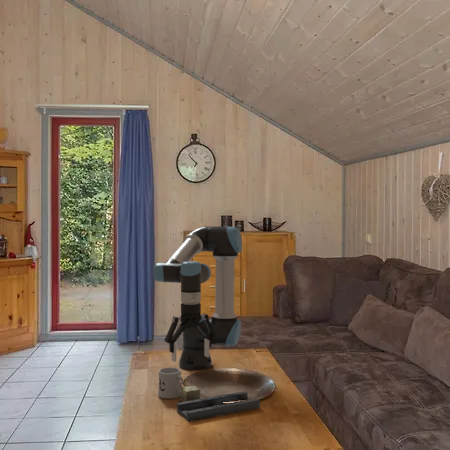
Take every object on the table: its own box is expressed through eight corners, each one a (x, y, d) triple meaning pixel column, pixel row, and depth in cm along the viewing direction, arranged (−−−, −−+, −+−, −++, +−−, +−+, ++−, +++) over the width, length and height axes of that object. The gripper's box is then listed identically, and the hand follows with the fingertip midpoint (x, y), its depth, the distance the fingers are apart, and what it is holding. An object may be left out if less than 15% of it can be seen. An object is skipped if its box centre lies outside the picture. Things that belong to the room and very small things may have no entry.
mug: (153, 395, 221) (153, 370, 221) (170, 390, 228) (170, 365, 227) (174, 403, 213) (174, 377, 212) (191, 397, 219) (192, 372, 219)
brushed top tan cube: (180, 401, 215) (180, 387, 215) (193, 399, 218) (193, 385, 217) (186, 406, 210) (186, 391, 210) (199, 403, 213) (199, 389, 213)
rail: (176, 411, 205) (176, 403, 205) (245, 398, 218) (245, 391, 218) (189, 421, 195) (189, 413, 195) (259, 408, 208) (259, 399, 208)
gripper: (163, 307, 203) (163, 365, 204) (224, 301, 215) (224, 357, 216) (155, 303, 210) (155, 360, 211) (215, 298, 222) (215, 352, 222)
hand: (190, 358), depth 213 cm, fingers open, 13 cm apart
